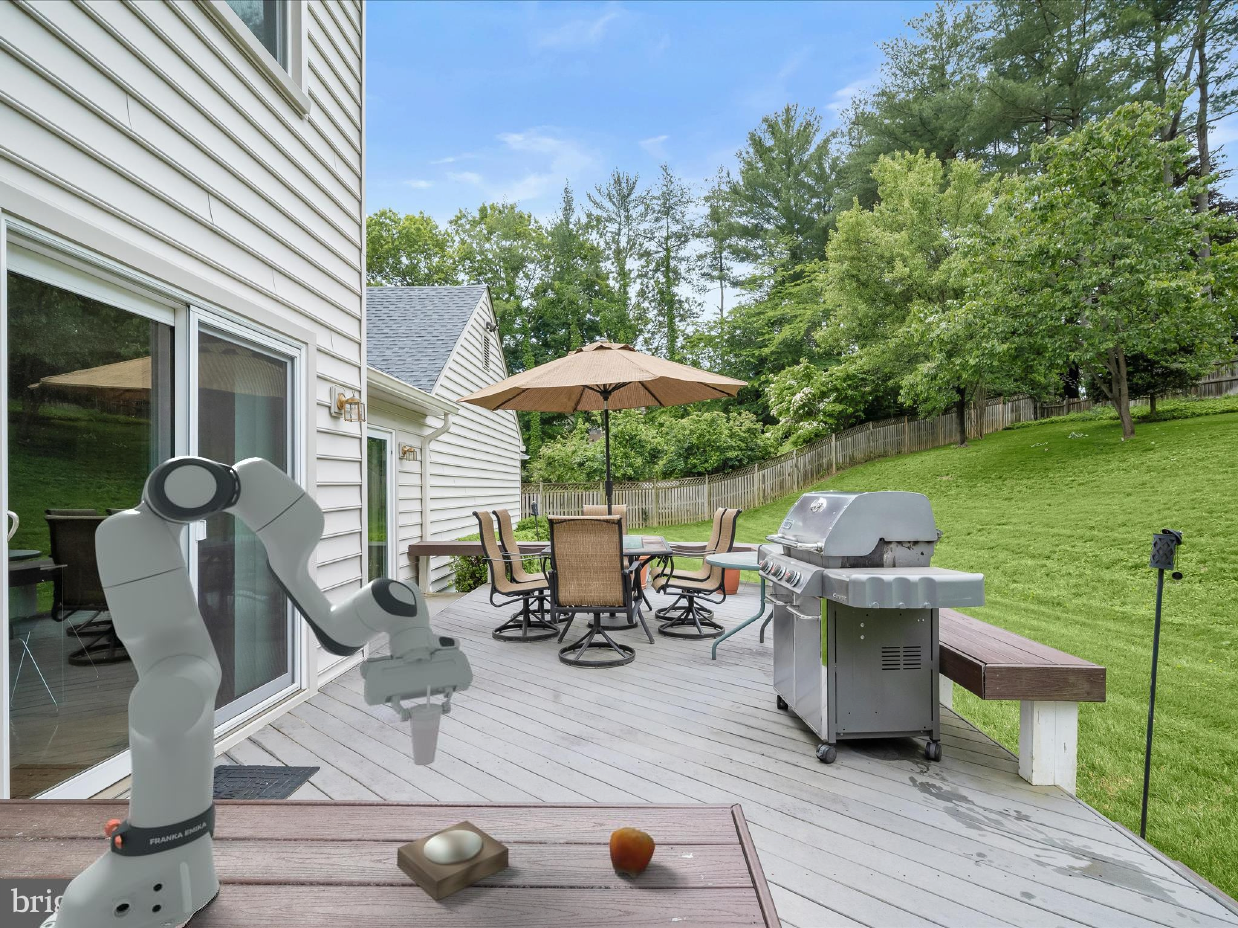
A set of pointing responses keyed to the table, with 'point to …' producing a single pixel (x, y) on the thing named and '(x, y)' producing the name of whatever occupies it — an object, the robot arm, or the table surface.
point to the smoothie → (425, 730)
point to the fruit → (631, 850)
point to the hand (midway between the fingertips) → (426, 716)
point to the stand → (452, 859)
